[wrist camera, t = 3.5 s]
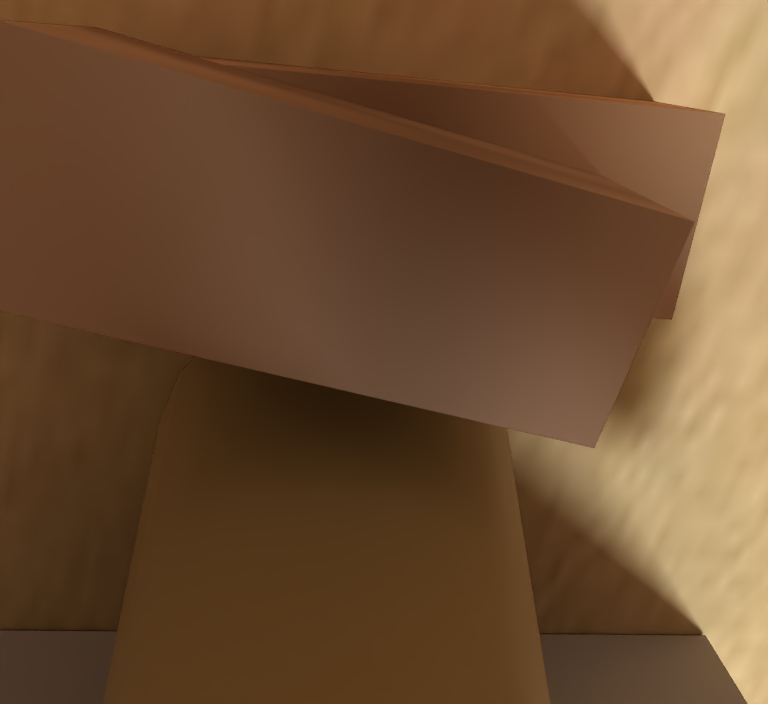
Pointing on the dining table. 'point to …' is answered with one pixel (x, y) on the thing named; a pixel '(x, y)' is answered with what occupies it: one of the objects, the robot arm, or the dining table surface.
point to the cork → (324, 554)
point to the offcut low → (549, 132)
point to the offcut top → (317, 236)
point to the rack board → (560, 652)
